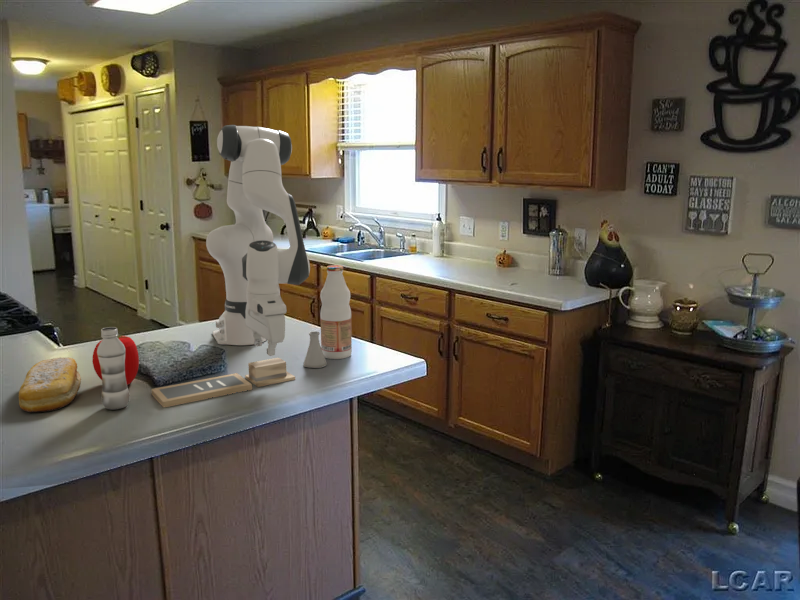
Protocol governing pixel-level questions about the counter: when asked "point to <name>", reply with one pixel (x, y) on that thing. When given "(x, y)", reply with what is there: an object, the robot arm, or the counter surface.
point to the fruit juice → (335, 315)
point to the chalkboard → (200, 389)
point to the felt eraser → (267, 369)
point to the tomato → (130, 359)
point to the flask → (314, 353)
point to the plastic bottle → (113, 370)
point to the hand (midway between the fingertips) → (264, 350)
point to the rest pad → (271, 380)
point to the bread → (50, 385)
